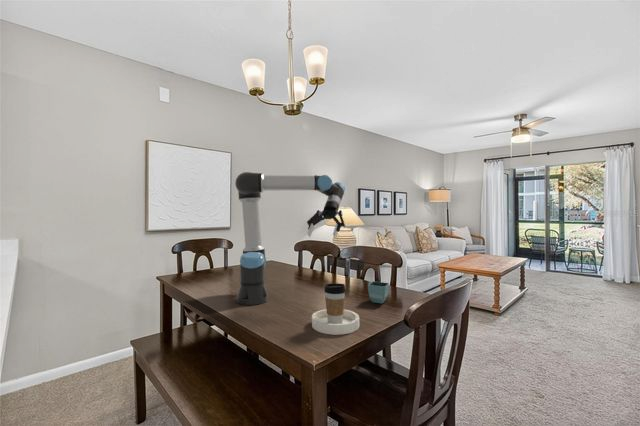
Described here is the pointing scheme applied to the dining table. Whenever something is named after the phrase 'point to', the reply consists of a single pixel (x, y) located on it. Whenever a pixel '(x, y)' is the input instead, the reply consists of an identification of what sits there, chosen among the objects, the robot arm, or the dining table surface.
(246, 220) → the robot arm
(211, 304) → the dining table surface
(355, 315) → the serving bowl
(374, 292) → the flower pot
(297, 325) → the dining table surface
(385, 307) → the dining table surface
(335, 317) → the coffee cup
